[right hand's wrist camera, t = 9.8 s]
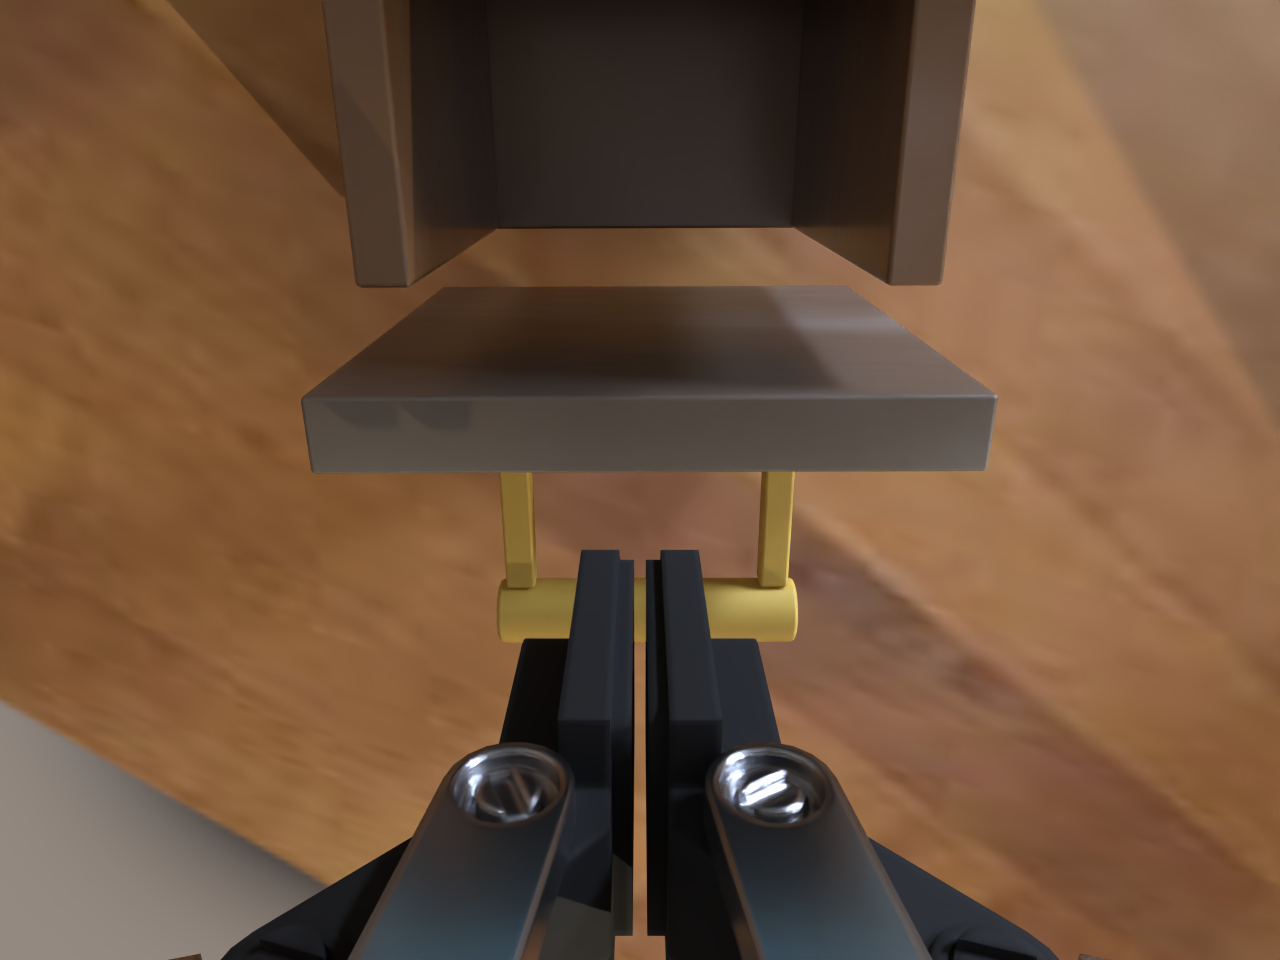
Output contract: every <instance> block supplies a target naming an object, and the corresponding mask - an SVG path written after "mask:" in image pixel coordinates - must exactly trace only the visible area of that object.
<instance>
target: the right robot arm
mask: <svg viewBox="0 0 1280 960" xmlns="http://www.w3.org/2000/svg"><path fill="white" fill-rule="evenodd" d="M633 836H634V560H620V557H619V550H582V551H581V557H580V564H579V571H578V578H577V585H576V592H575V599H574V606H573V613H572V621H571V628H570V635H569V638H525V639H524V640H523V643H522V647H521V651H520V656H519V660H518V664H517V669H516V673H515V677H514V681H513V686H512V690H511V694H510V699H509V703H508V707H507V712H506V716H505V720H504V725H503V729H502V733H501V737H500V742H499V744H496V745H491V746H486V747H484V748H482V749H479V750H477V751H475V752H472V753H470V754H468V755H466V756H465V757H464V758H462V759H461V760H460V761H458V762H457V763H456V764H454V765H453V766H452V768H451V769H450V770H449V771H448V773H447V774H446V775H445V777H444V778H443V780H442V782H441V784H440V785H439V787H438V789H437V791H436V793H435V795H434V797H433V799H432V801H431V802H430V804H429V806H428V808H427V810H426V812H425V814H424V816H423V818H422V820H421V821H420V823H419V825H418V827H417V829H416V831H415V833H414V835H413V837H411V838H410V839H408V840H406V841H405V842H403V843H401V844H400V845H398V846H396V847H394V848H393V849H391V850H389V851H388V852H386V853H384V854H383V855H381V856H379V857H378V858H376V859H374V860H373V861H371V862H369V863H368V864H366V865H364V866H363V867H361V868H359V869H358V870H356V871H354V872H353V873H351V874H349V875H348V876H346V877H344V878H343V879H341V880H339V881H338V882H336V883H334V884H332V885H331V886H329V887H327V888H326V889H324V890H322V891H321V892H319V893H317V894H316V895H314V896H312V897H311V898H309V899H307V900H306V901H304V902H302V903H301V904H299V905H297V906H296V907H294V908H292V909H291V910H289V911H287V912H286V913H284V914H282V915H281V916H279V917H277V918H276V919H274V920H272V921H271V922H269V923H267V924H265V925H264V926H262V927H260V928H259V929H257V930H256V931H254V932H252V933H251V934H250V935H248V936H247V937H245V938H244V939H243V940H241V941H240V942H239V943H237V944H236V945H235V946H233V947H232V948H231V949H230V950H229V951H228V952H227V953H226V955H225V956H224V957H223V958H222V959H221V960H614V947H615V936H632V935H633ZM646 836H647V935H648V936H665V947H666V960H1059V959H1058V958H1057V957H1056V956H1055V954H1054V953H1053V952H1052V951H1051V950H1050V949H1049V948H1048V947H1047V946H1045V945H1044V944H1043V943H1041V942H1040V941H1039V940H1037V939H1036V938H1035V937H1033V936H1032V935H1030V934H1029V933H1028V932H1026V931H1025V930H1023V929H1021V928H1020V927H1018V926H1016V925H1015V924H1013V923H1011V922H1009V921H1008V920H1006V919H1004V918H1003V917H1001V916H999V915H998V914H996V913H994V912H993V911H991V910H989V909H988V908H986V907H984V906H983V905H981V904H979V903H978V902H976V901H974V900H973V899H971V898H969V897H968V896H966V895H964V894H963V893H961V892H959V891H958V890H956V889H954V888H953V887H951V886H949V885H948V884H946V883H944V882H942V881H941V880H939V879H937V878H936V877H934V876H932V875H931V874H929V873H927V872H926V871H924V870H922V869H921V868H919V867H917V866H916V865H914V864H912V863H911V862H909V861H907V860H906V859H904V858H902V857H901V856H899V855H897V854H896V853H894V852H892V851H891V850H889V849H887V848H886V847H884V846H882V845H880V844H879V843H877V842H875V841H874V840H872V839H870V838H869V837H867V835H866V833H865V831H864V829H863V827H862V825H861V823H860V821H859V820H858V818H857V816H856V814H855V812H854V810H853V808H852V806H851V804H850V802H849V801H848V799H847V797H846V795H845V793H844V791H843V789H842V787H841V785H840V784H839V782H838V780H837V778H836V777H835V775H834V774H833V773H832V771H831V770H830V769H829V768H828V766H827V765H826V764H824V763H823V762H822V761H820V760H819V759H818V758H816V757H815V756H814V755H812V754H810V753H808V752H805V751H803V750H801V749H798V748H796V747H794V746H789V745H784V744H781V742H780V737H779V733H778V729H777V725H776V720H775V716H774V712H773V707H772V703H771V699H770V694H769V690H768V686H767V681H766V677H765V673H764V669H763V664H762V660H761V656H760V651H759V647H758V643H757V640H756V639H755V638H711V635H710V628H709V621H708V613H707V606H706V599H705V592H704V585H703V578H702V571H701V564H700V557H699V551H698V550H661V557H660V560H646ZM170 960H202V958H201V954H196V955H192V956H186V957H181V958H176V959H170ZM1078 960H1110V959H1104V958H1099V957H1094V956H1089V955H1084V954H1079V958H1078Z"/></svg>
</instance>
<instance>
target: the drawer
mask: <svg viewBox="0 0 1280 960" xmlns="http://www.w3.org/2000/svg"><path fill="white" fill-rule="evenodd" d="M975 4H976V0H322V7H323V15H324V24H325V32H326V40H327V49H328V57H329V65H330V74H331V82H332V90H333V99H334V107H335V115H336V124H337V132H338V140H339V149H340V157H341V165H342V174H343V182H344V190H345V199H346V207H347V215H348V224H349V232H350V240H351V249H352V257H353V265H354V274H355V282H356V284H357V286H359V287H362V288H372V287H409V286H411V285H412V284H414V283H415V282H417V281H418V280H420V279H421V278H423V277H424V276H426V275H428V274H429V273H431V272H432V271H434V270H435V269H437V268H438V267H440V266H441V265H443V264H444V263H446V262H447V261H449V260H450V259H452V258H453V257H455V256H456V255H458V254H459V253H461V252H463V251H464V250H466V249H467V248H469V247H470V246H472V245H473V244H475V243H476V242H478V241H479V240H481V239H482V238H484V237H485V236H487V235H488V234H490V233H491V232H493V231H495V230H496V229H560V228H795V229H797V230H799V231H800V232H802V233H804V234H805V235H807V236H809V237H810V238H812V239H814V240H815V241H817V242H818V243H820V244H822V245H823V246H825V247H827V248H828V249H830V250H832V251H833V252H835V253H837V254H838V255H840V256H842V257H843V258H845V259H847V260H848V261H850V262H852V263H853V264H855V265H857V266H858V267H860V268H862V269H863V270H865V271H867V272H868V273H870V274H872V275H873V276H875V277H877V278H878V279H880V280H881V281H883V282H885V283H886V284H889V285H939V284H941V282H942V280H943V272H944V264H945V255H946V247H947V239H948V230H949V222H950V214H951V205H952V197H953V188H954V180H955V172H956V163H957V155H958V147H959V138H960V130H961V121H962V113H963V105H964V96H965V88H966V80H967V71H968V63H969V55H970V46H971V38H972V29H973V21H974V13H975ZM997 399H998V398H997V395H996V394H995V393H993V392H992V391H991V390H989V389H988V388H987V387H985V386H984V385H982V384H981V383H980V382H978V381H977V380H976V379H974V378H973V377H971V376H970V375H969V374H967V373H966V372H965V371H963V370H962V369H960V368H959V367H958V366H956V365H955V364H954V363H952V362H951V361H950V360H948V359H947V358H945V357H944V356H943V355H941V354H940V353H939V352H937V351H936V350H934V349H933V348H932V347H930V346H929V345H928V344H926V343H925V342H923V341H922V340H921V339H919V338H918V337H917V336H915V335H914V334H912V333H911V332H910V331H908V330H907V329H906V328H904V327H903V326H902V325H900V324H899V323H897V322H896V321H895V320H893V319H892V318H891V317H889V316H888V315H886V314H885V313H884V312H882V311H881V310H880V309H878V308H877V307H875V306H874V305H873V304H871V303H870V302H869V301H867V300H866V299H864V298H863V297H862V296H860V295H859V294H858V293H856V292H855V291H853V290H852V289H851V288H849V287H848V286H677V287H444V288H442V289H441V290H440V291H438V292H437V293H436V294H435V295H433V296H432V297H431V298H429V299H428V300H427V301H426V302H424V303H423V304H422V305H420V306H419V307H418V308H417V309H415V310H414V311H413V312H411V313H410V314H409V315H407V316H406V317H405V318H404V319H402V320H401V321H400V322H398V323H397V324H396V325H395V326H393V327H392V328H391V329H389V330H388V331H387V332H386V333H384V334H383V335H382V336H380V337H379V338H378V339H377V340H375V341H374V342H373V343H371V344H370V345H369V346H368V347H366V348H365V349H364V350H362V351H361V352H360V353H359V354H357V355H356V356H355V357H353V358H352V359H351V360H350V361H348V362H347V363H346V364H344V365H343V366H342V367H341V368H339V369H338V370H337V371H335V372H334V373H333V374H332V375H330V376H329V377H328V378H326V379H325V380H324V381H323V382H321V383H320V384H319V385H317V386H316V387H315V388H314V389H312V390H311V391H310V392H308V393H307V394H306V395H304V396H303V397H302V399H301V404H302V411H303V418H304V424H305V431H306V438H307V445H308V451H309V458H310V465H311V470H312V472H313V473H499V476H500V491H501V506H502V521H503V536H504V551H505V566H506V579H504V580H502V581H501V584H500V586H499V591H498V598H497V628H498V634H499V637H500V640H501V641H503V642H523V640H524V639H525V638H569V635H570V628H571V621H572V613H573V606H574V599H575V592H576V585H577V578H565V579H536V578H537V559H536V540H535V520H534V501H533V482H532V473H549V472H762V480H761V500H760V520H759V540H758V560H757V576H758V578H703V585H704V592H705V599H706V606H707V613H708V621H709V628H710V635H711V638H755V639H756V640H757V641H792V640H794V638H795V635H796V632H797V624H798V603H797V593H796V588H795V585H794V582H793V580H792V579H790V578H788V568H789V552H790V537H791V521H792V506H793V490H794V474H795V472H817V471H984V470H986V469H987V466H988V459H989V452H990V446H991V439H992V432H993V426H994V419H995V412H996V405H997ZM634 642H646V578H634Z"/></svg>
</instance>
